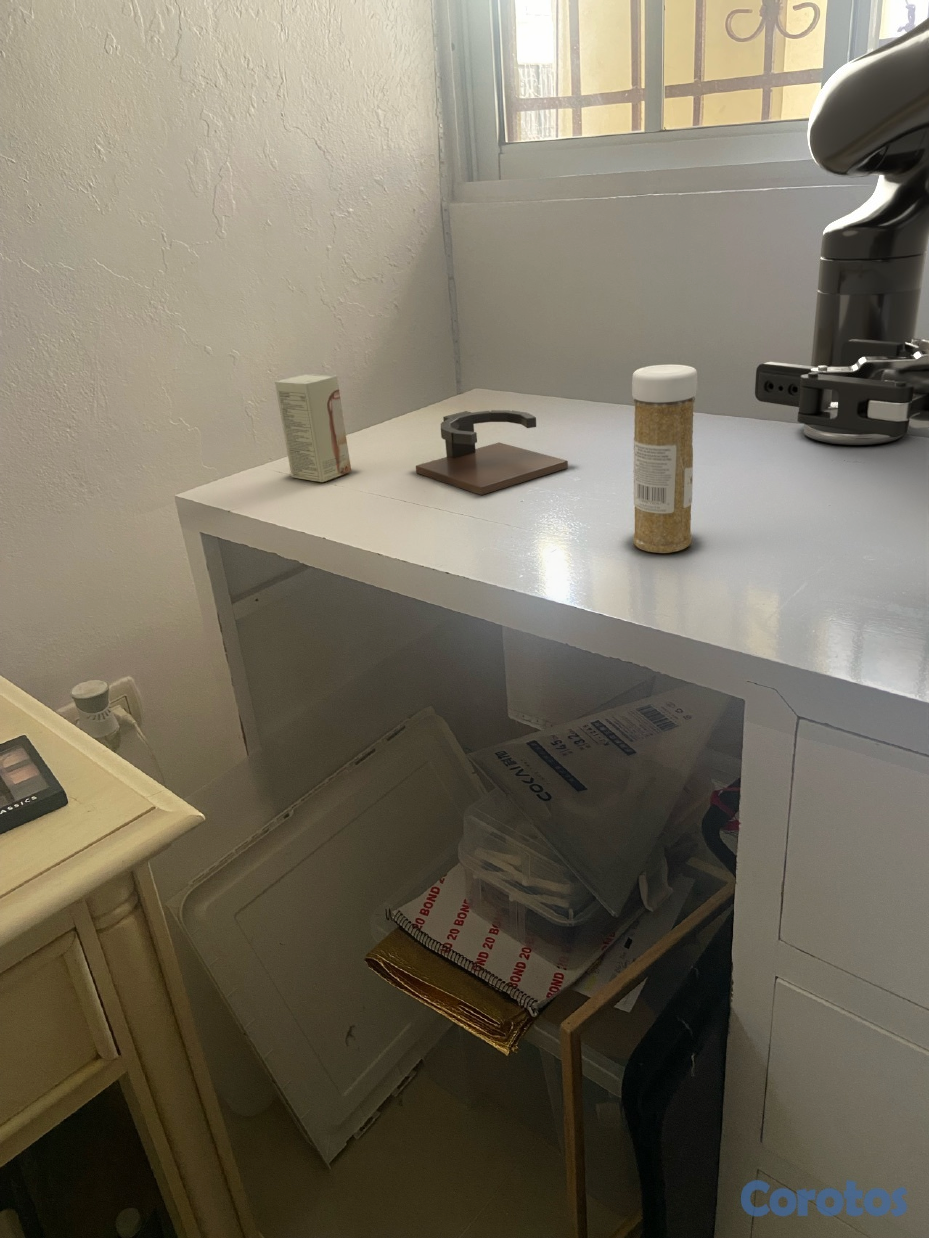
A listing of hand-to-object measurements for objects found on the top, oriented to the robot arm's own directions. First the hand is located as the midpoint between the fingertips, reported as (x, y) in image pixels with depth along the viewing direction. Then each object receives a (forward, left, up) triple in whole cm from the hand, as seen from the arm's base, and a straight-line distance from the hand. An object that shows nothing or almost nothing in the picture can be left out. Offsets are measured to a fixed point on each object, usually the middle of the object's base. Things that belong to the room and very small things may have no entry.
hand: (802, 368), depth 56 cm
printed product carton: (0, -51, -15) cm, 53 cm away
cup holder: (-10, -36, -15) cm, 40 cm away
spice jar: (-2, -11, -15) cm, 19 cm away
